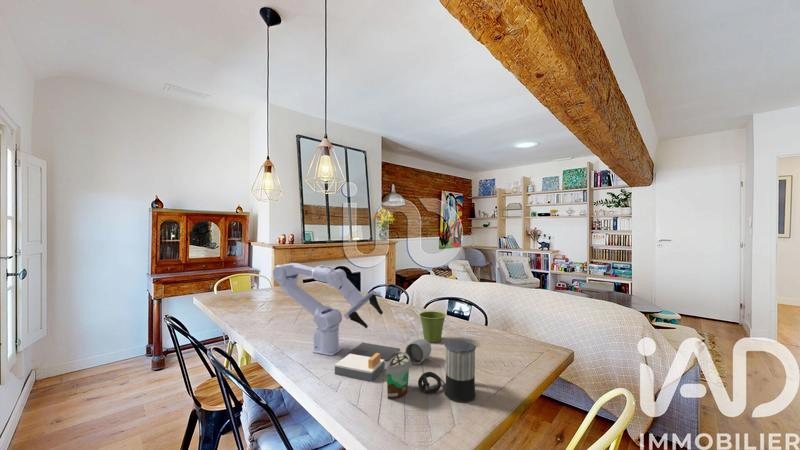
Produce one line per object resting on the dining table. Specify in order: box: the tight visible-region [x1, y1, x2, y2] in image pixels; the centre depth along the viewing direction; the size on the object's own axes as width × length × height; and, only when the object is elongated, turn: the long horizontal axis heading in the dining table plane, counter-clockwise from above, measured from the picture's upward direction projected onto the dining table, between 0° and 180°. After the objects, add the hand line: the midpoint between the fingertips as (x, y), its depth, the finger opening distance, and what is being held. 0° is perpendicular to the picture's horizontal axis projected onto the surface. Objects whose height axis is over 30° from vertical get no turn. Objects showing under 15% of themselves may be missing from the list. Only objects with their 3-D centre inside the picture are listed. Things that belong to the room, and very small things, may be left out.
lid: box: [334, 353, 385, 374], centre depth 110 cm, size 14×10×4 cm
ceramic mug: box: [403, 338, 432, 366], centre depth 120 cm, size 11×8×8 cm
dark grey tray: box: [334, 361, 386, 382], centre depth 110 cm, size 14×10×3 cm
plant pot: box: [418, 310, 447, 343], centre depth 139 cm, size 12×12×11 cm
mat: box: [347, 342, 401, 362], centre depth 127 cm, size 17×12×1 cm
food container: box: [386, 350, 412, 400], centre depth 97 cm, size 12×6×10 cm, turn 168°
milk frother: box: [417, 339, 477, 403], centre depth 96 cm, size 14×16×15 cm
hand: (374, 320), depth 120 cm, fingers open, 7 cm apart
